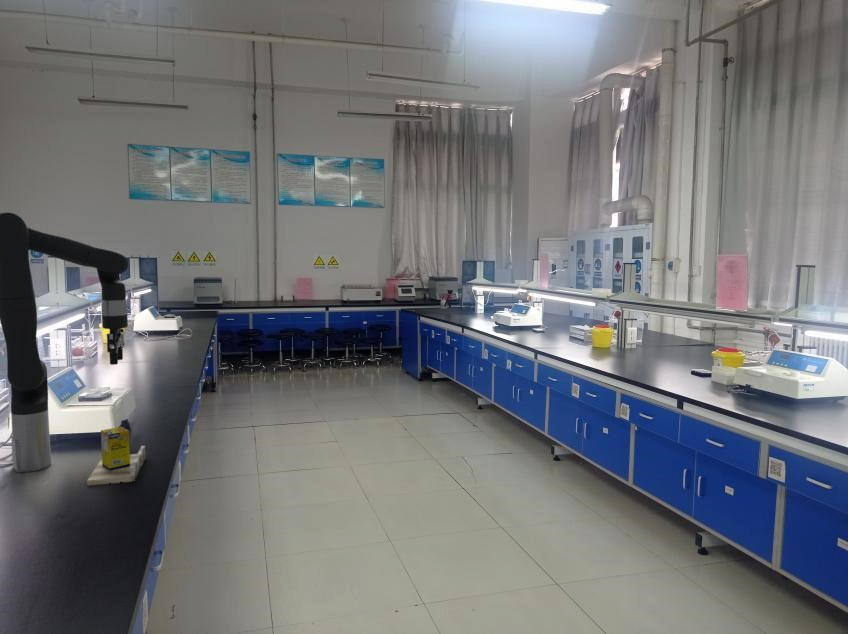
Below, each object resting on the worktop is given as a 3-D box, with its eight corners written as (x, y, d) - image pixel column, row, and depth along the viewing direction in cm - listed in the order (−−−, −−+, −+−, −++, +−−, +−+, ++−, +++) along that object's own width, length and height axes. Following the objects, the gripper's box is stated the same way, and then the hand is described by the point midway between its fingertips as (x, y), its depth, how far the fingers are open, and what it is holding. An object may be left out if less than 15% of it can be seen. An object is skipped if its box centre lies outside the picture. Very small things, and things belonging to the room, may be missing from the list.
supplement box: (130, 466, 177) (129, 430, 176) (109, 471, 173) (107, 434, 171) (123, 461, 181) (121, 426, 180) (101, 466, 177) (100, 430, 175)
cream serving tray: (135, 481, 169) (134, 467, 169) (87, 485, 166) (86, 471, 165) (146, 457, 188) (145, 445, 188) (103, 461, 185) (102, 448, 184)
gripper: (123, 315, 191) (125, 365, 193) (130, 311, 204) (132, 357, 206) (96, 316, 189) (99, 366, 190) (106, 311, 202) (108, 358, 204)
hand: (116, 362), depth 198 cm, fingers open, 8 cm apart
